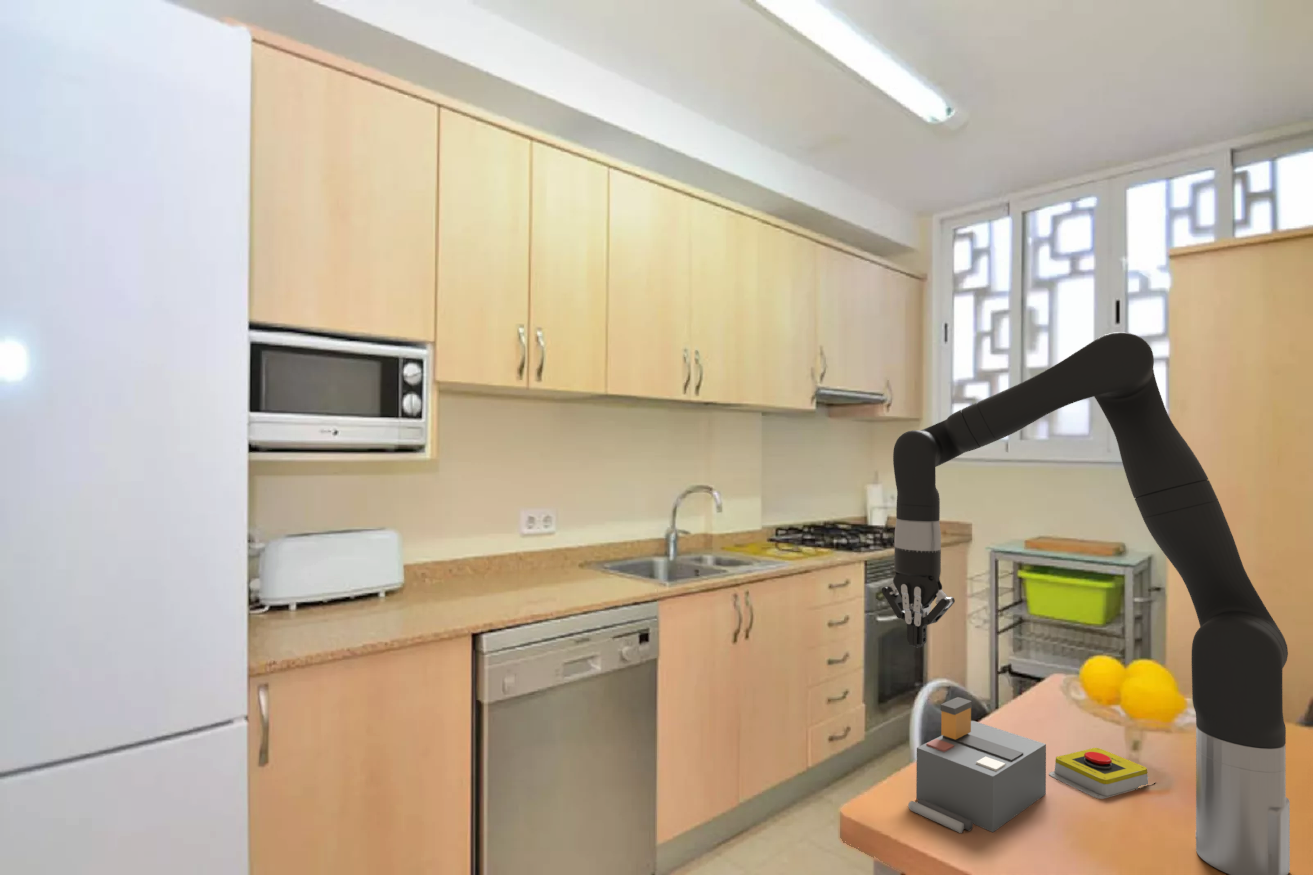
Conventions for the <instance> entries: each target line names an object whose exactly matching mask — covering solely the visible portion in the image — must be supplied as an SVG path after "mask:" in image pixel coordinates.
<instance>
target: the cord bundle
mask: <svg viewBox="0 0 1313 875" xmlns="http://www.w3.org/2000/svg"><path fill="white" fill-rule="evenodd" d="M907 807H908V808H909V810H910V811H912V812H913V813H915V814H917V815H920V816H922V817H924V818H927V819H929V820H931V821H932V822H935V823H937V824H939V825H941V826H944V827H946V828H948V829H951V830H952V831H955V832H957V833H959V834H962V833H964V830H966V831H968V832H971V830H972V829H973V826H974V824H973V822H972V821H971V820H969V819H966V818H964V817H962V816H959V815H957V814H955V813H953V812H950V811H948V810H946V809H943V808H941V807H939V806H937V805H934V804H932V803H930V802H927V801H925V800H923V799H919V800H918V799H917V801H914V800H910V801H909V802H908V806H907Z"/></svg>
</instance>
